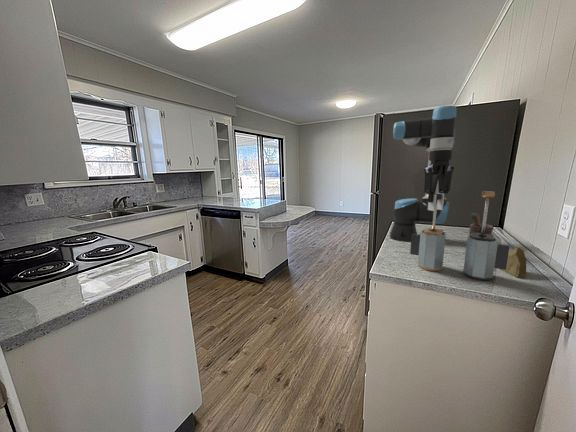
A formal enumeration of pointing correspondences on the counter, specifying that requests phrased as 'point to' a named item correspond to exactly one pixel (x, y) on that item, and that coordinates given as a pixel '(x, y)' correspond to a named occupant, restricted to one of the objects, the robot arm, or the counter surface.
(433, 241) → the grey faceted cylinder
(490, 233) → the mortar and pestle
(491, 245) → the gray faceted mug
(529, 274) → the counter surface
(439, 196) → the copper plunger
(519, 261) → the rock
